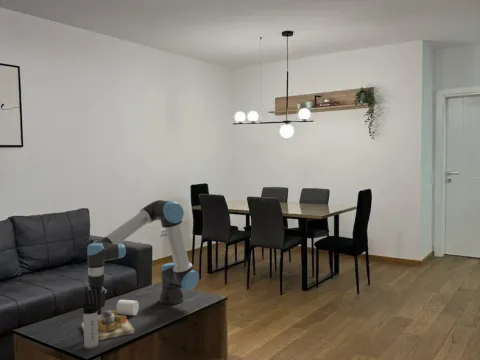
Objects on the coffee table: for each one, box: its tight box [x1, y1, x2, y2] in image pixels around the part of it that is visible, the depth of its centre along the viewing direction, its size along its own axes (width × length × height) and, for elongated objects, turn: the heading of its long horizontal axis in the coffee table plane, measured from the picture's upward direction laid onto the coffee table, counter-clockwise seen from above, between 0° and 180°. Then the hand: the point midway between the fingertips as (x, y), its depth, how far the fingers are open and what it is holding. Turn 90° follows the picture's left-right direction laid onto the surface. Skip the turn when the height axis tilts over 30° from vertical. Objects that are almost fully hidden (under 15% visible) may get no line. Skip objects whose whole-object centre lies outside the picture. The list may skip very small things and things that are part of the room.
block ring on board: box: [80, 309, 135, 341], centre depth 225 cm, size 22×22×10 cm
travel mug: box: [82, 303, 99, 350], centre depth 206 cm, size 6×7×20 cm
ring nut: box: [98, 309, 128, 331], centre depth 226 cm, size 16×18×5 cm
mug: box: [115, 299, 140, 316], centre depth 249 cm, size 12×10×8 cm
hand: (97, 320), depth 220 cm, fingers closed
